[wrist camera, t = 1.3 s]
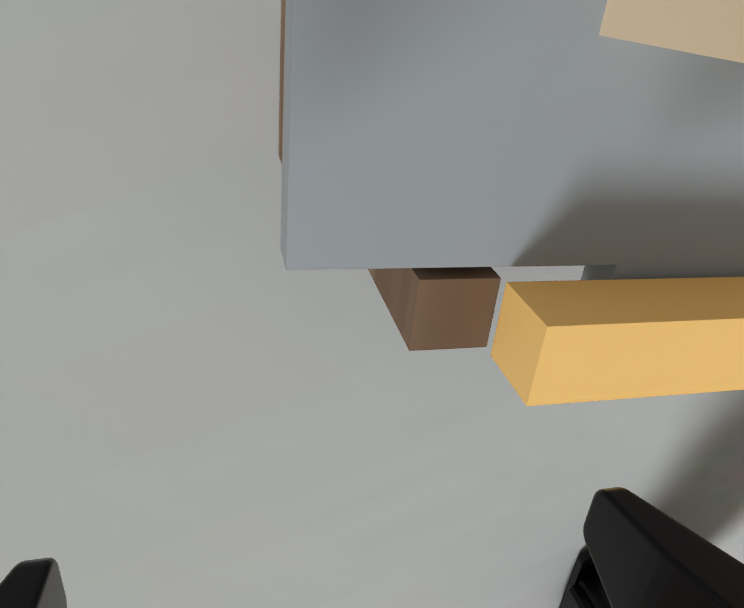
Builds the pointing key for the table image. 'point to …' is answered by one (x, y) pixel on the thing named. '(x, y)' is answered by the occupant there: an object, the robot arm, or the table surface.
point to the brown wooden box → (428, 288)
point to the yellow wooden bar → (621, 338)
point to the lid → (515, 135)
